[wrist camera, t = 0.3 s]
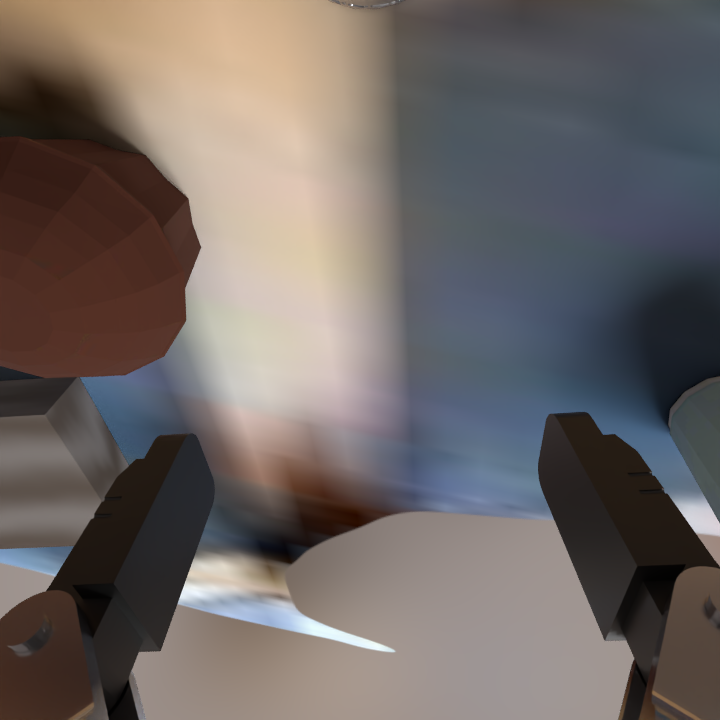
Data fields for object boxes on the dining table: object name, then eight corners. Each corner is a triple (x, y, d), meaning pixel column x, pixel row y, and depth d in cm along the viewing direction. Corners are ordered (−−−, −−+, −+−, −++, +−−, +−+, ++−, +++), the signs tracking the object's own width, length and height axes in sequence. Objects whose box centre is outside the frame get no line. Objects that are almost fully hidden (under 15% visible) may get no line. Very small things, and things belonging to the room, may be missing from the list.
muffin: (198, 109, 22) (97, 147, 13) (242, 309, 28) (192, 418, 20) (-39, 121, 22) (-276, 165, 14) (58, 316, 28) (-65, 425, 20)
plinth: (-110, 387, 32) (-164, 426, 29) (78, 375, 31) (44, 414, 28) (-2, 509, 40) (-35, 550, 37) (149, 502, 39) (129, 543, 36)
